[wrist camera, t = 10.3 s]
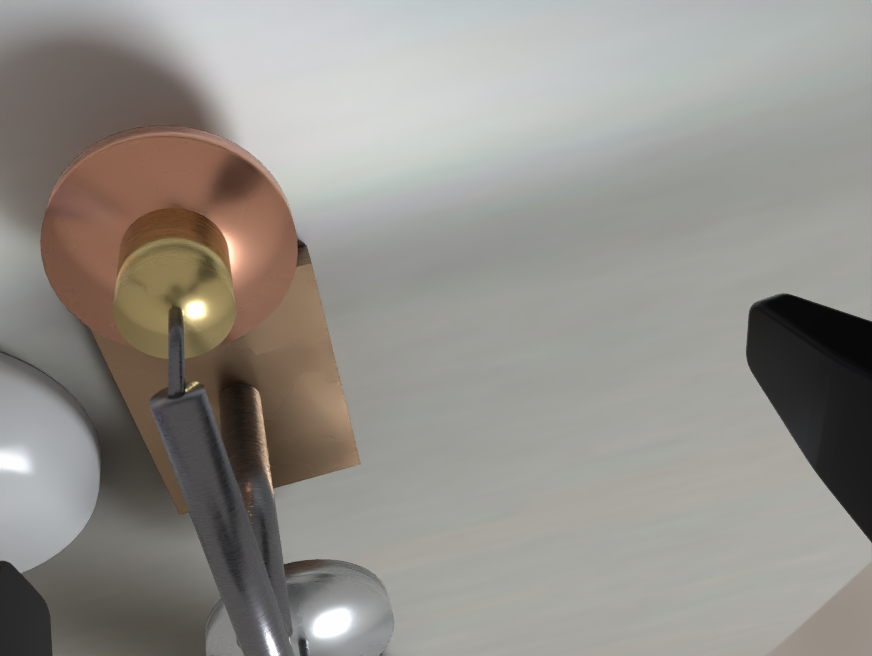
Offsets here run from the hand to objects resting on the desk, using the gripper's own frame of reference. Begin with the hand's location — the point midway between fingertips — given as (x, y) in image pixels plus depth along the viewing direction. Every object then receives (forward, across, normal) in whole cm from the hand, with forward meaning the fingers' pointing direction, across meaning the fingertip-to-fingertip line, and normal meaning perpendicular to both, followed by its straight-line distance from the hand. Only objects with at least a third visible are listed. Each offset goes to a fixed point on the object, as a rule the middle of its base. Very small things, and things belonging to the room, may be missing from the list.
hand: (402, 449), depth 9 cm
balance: (+13, +4, +8) cm, 16 cm away
